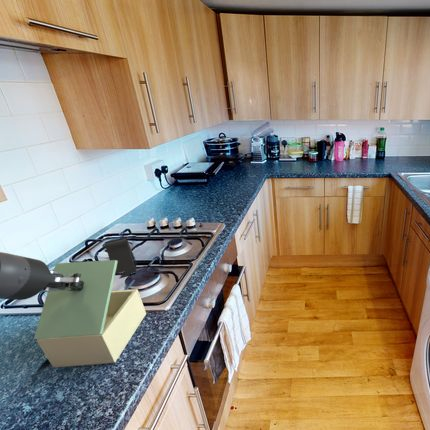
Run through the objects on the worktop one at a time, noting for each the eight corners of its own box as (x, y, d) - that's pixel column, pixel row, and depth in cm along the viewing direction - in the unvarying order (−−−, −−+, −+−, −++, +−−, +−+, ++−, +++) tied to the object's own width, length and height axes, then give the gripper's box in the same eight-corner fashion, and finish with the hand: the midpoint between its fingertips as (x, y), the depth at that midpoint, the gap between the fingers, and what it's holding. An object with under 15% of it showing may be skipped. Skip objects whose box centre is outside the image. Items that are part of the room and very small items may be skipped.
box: (96, 317, 80) (84, 292, 76) (146, 313, 81) (137, 289, 77) (53, 367, 66) (36, 340, 62) (115, 362, 67) (102, 335, 63)
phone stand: (136, 274, 97) (125, 243, 92) (115, 279, 95) (103, 249, 90) (136, 261, 104) (126, 232, 99) (116, 266, 102) (105, 236, 97)
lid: (58, 264, 68) (55, 263, 68) (117, 260, 69) (115, 260, 69) (37, 338, 62) (33, 338, 61) (102, 334, 63) (100, 334, 62)
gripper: (50, 252, 51) (112, 268, 68) (-29, 256, 50) (53, 271, 67) (39, 295, 49) (106, 301, 65) (-45, 301, 48) (45, 305, 64)
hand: (79, 286), depth 66 cm, fingers closed
